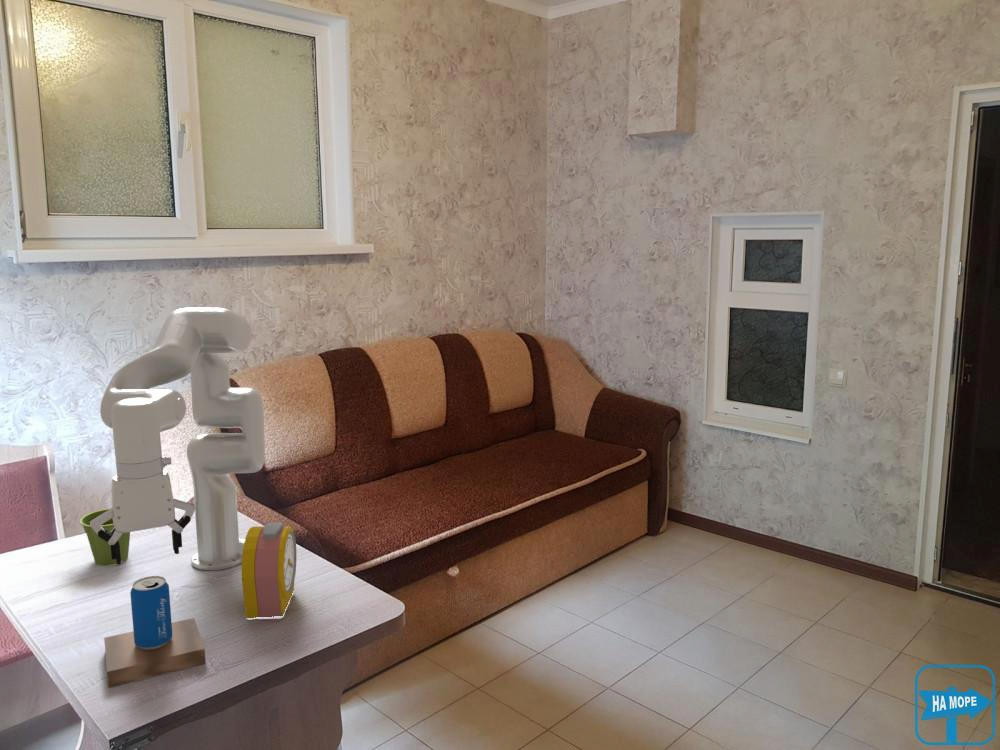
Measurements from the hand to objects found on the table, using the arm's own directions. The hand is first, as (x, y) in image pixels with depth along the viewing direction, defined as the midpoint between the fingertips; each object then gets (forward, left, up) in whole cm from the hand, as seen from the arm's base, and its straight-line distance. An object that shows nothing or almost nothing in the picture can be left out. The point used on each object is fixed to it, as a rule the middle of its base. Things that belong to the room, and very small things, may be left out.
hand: (147, 556), depth 139 cm
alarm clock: (-24, -10, -20) cm, 33 cm away
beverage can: (0, 0, -17) cm, 17 cm away
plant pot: (+5, -52, -20) cm, 56 cm away
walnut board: (0, 0, -20) cm, 20 cm away
